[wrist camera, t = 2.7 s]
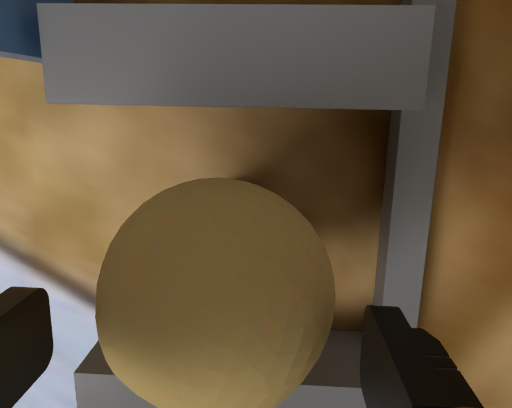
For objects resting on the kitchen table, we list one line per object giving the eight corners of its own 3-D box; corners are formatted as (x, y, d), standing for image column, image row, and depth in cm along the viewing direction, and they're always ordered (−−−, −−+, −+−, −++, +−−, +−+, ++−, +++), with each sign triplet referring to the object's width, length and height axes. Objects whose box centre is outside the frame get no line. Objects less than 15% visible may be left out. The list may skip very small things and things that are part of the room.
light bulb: (338, 182, 18) (407, 283, 8) (281, 309, 19) (281, 521, 10) (196, 126, 18) (92, 160, 8) (150, 259, 19) (16, 423, 9)
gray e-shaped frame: (5, -403, 14) (-145, -676, 9) (490, -426, 13) (615, -740, 8) (80, 373, 21) (19, 456, 16) (397, 389, 20) (434, 482, 15)
